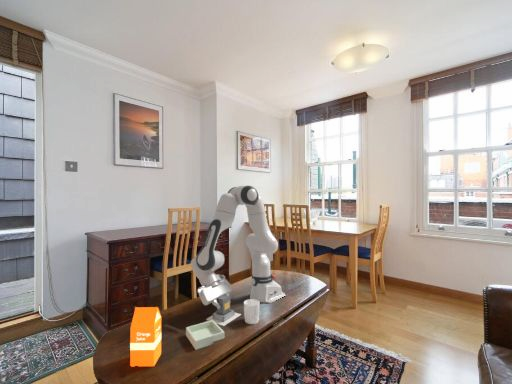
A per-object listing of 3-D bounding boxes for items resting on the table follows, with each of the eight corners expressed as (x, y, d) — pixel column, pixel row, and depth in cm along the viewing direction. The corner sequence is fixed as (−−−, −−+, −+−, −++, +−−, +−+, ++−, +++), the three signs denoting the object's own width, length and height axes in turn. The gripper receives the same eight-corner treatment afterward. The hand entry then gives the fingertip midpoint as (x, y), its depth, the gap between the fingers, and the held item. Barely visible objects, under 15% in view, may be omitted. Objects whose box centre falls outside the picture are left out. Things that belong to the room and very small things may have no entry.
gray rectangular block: (224, 313, 134) (224, 294, 134) (230, 315, 132) (230, 296, 132) (217, 318, 129) (217, 298, 129) (223, 320, 127) (223, 299, 127)
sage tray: (212, 327, 122) (212, 319, 122) (224, 340, 111) (224, 332, 111) (185, 335, 115) (185, 327, 115) (195, 349, 104) (195, 341, 104)
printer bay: (223, 310, 140) (223, 304, 140) (241, 316, 133) (241, 309, 133) (205, 321, 128) (205, 314, 128) (224, 328, 121) (224, 320, 121)
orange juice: (154, 366, 94) (154, 311, 94) (129, 366, 94) (130, 311, 94) (161, 353, 102) (161, 302, 102) (139, 353, 102) (139, 303, 102)
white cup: (240, 322, 127) (240, 301, 127) (252, 317, 132) (252, 297, 132) (250, 328, 121) (250, 307, 121) (262, 323, 126) (262, 302, 126)
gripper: (199, 285, 126) (214, 309, 120) (225, 274, 143) (239, 295, 138) (192, 292, 128) (207, 316, 123) (219, 280, 145) (233, 302, 140)
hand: (224, 305), depth 130 cm, fingers open, 6 cm apart
